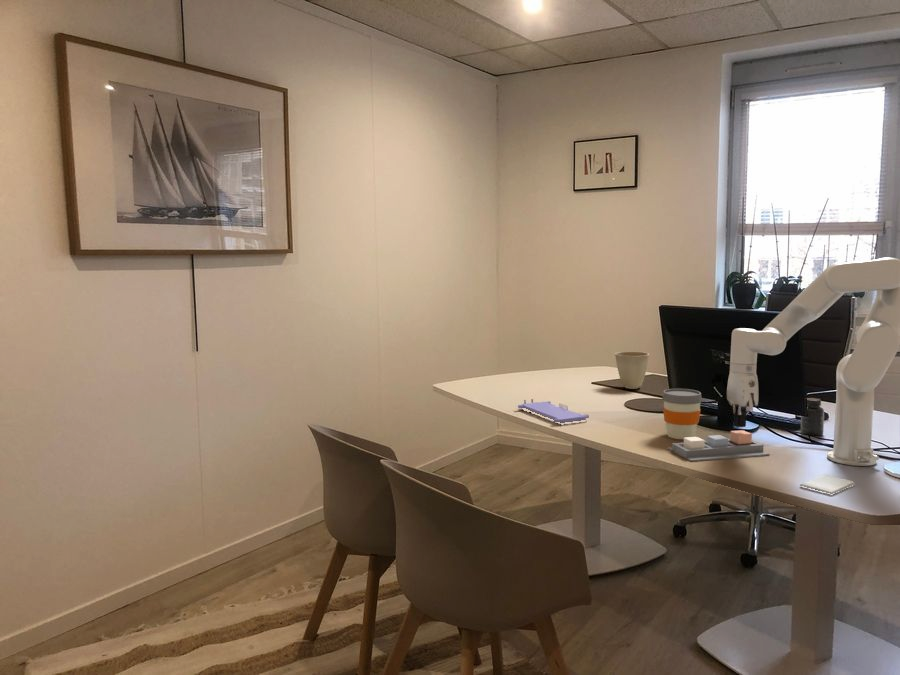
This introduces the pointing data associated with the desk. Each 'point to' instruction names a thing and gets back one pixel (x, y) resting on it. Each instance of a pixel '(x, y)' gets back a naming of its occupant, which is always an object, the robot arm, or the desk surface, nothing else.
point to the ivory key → (693, 442)
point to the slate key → (717, 441)
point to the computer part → (553, 411)
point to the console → (719, 451)
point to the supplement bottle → (813, 418)
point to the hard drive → (828, 484)
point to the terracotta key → (741, 437)
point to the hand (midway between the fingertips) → (739, 426)
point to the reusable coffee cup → (681, 412)
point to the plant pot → (632, 367)
